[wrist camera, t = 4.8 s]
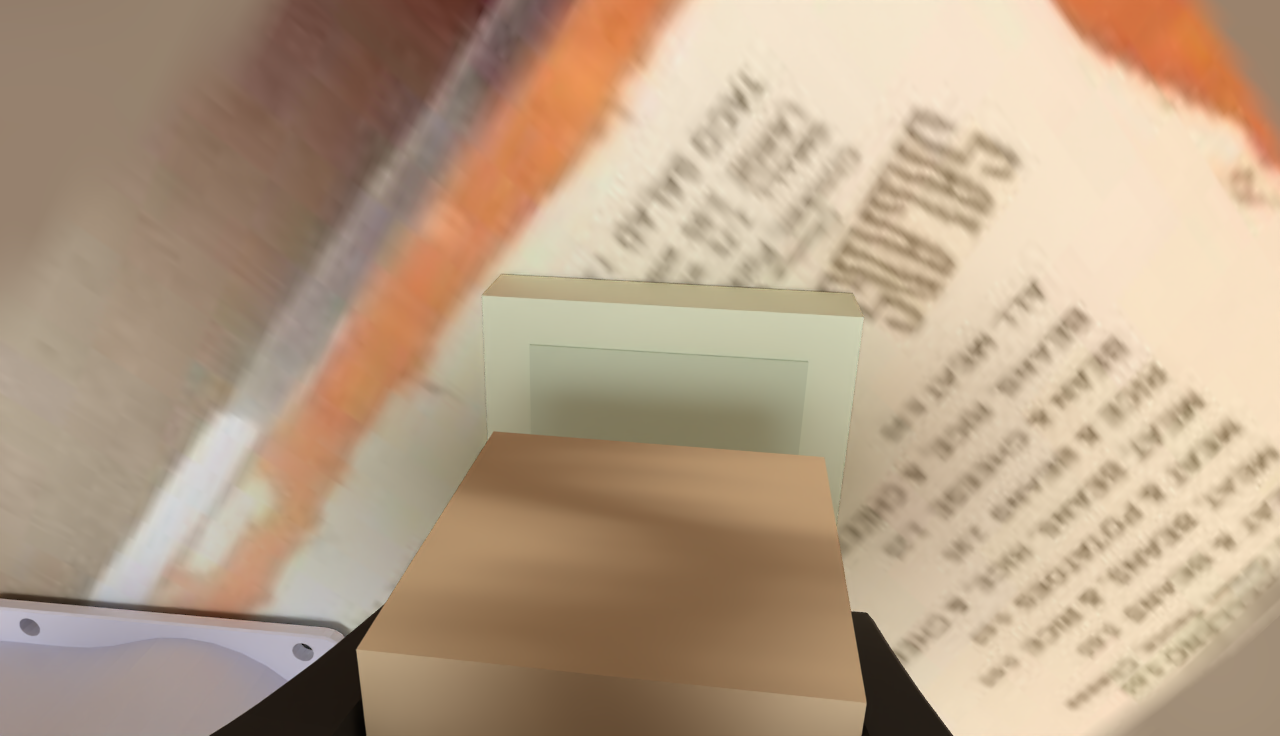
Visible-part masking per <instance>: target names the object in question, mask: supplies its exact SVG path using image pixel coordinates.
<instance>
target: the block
mask: <svg viewBox="0 0 1280 736" xmlns="http://www.w3.org/2000/svg"><path fill="white" fill-rule="evenodd" d="M356 651H357V660H358V668H359V677H360V685H361V693H362V702H363V710H364V719H365V727H366V736H862V729H863V723H864V717H865V711H866V704H867V702H866V696H865V690H864V684H863V678H862V673H861V667H860V661H859V655H858V649H857V644H856V638H855V632H854V626H853V620H852V614H851V609H850V603H849V597H848V591H847V585H846V580H845V574H844V568H843V562H842V556H841V550H840V545H839V539H838V533H837V527H836V521H835V516H834V510H833V504H832V498H831V492H830V486H829V481H828V475H827V469H826V463H825V457H817V456H804V455H791V454H778V453H765V452H752V451H740V450H727V449H714V448H701V447H688V446H675V445H662V444H649V443H637V442H624V441H611V440H598V439H585V438H572V437H559V436H546V435H533V434H521V433H508V432H495V431H493V433H492V435H491V436H490V438H489V439H488V441H487V443H486V444H485V446H484V447H483V449H482V450H481V452H480V454H479V455H478V457H477V458H476V460H475V462H474V463H473V465H472V466H471V468H470V470H469V471H468V473H467V474H466V476H465V477H464V479H463V481H462V482H461V484H460V485H459V487H458V489H457V490H456V492H455V493H454V495H453V497H452V498H451V500H450V501H449V503H448V504H447V506H446V508H445V509H444V511H443V512H442V514H441V516H440V517H439V519H438V520H437V522H436V524H435V525H434V527H433V528H432V530H431V531H430V533H429V535H428V536H427V538H426V539H425V541H424V543H423V544H422V546H421V547H420V549H419V551H418V552H417V554H416V555H415V557H414V558H413V560H412V562H411V563H410V565H409V566H408V568H407V570H406V571H405V573H404V574H403V576H402V578H401V579H400V581H399V582H398V584H397V586H396V587H395V589H394V590H393V592H392V593H391V595H390V597H389V598H388V600H387V601H386V603H385V605H384V606H383V608H382V609H381V611H380V613H379V614H378V616H377V617H376V619H375V620H374V622H373V624H372V625H371V627H370V628H369V630H368V632H367V633H366V635H365V636H364V638H363V640H362V641H361V643H360V644H359V646H358V647H357V649H356Z"/></svg>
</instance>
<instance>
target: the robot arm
mask: <svg viewBox="0 0 1280 736" xmlns="http://www.w3.org/2000/svg"><path fill="white" fill-rule="evenodd" d="M384 605H385V604H384ZM384 605H383V606H384ZM383 606H382V607H381V608H380V609H378V610H377V611H376V612H375V613H374V614H372V615H371V616H370V617H369V618H368V619H366V620H365V621H364V622H363V623H362V624H360V625H359V626H358V627H357V628H356V629H355V630H353V631H352V632H351V633H350V634H348V635H347V636H346V637H344V636H343V635H342V634H341V633H340V632H338V631H336V630H334V629H330V628H325V627H314V626H303V625H291V624H280V623H269V622H258V621H246V620H235V619H224V618H213V617H201V616H190V615H179V614H168V613H156V612H145V611H134V610H123V609H111V608H100V607H89V606H78V605H66V604H55V603H44V602H33V601H21V600H10V599H0V736H366V727H365V719H364V710H363V702H362V693H361V685H360V677H359V668H358V660H357V651H356V649H357V647H358V646H359V644H360V643H361V641H362V640H363V638H364V636H365V635H366V633H367V632H368V630H369V628H370V627H371V625H372V624H373V622H374V620H375V619H376V617H377V616H378V614H379V613H380V611H381V609H382V608H383ZM851 614H852V620H853V626H854V632H855V638H856V644H857V649H858V655H859V661H860V667H861V673H862V678H863V684H864V690H865V696H866V702H867V704H866V711H865V717H864V723H863V729H862V736H953V735H952V734H951V732H950V731H949V730H948V728H947V727H946V725H945V724H944V723H943V721H942V720H941V719H940V717H939V716H938V715H937V713H936V712H935V711H934V709H933V708H932V707H931V705H930V704H929V703H928V701H927V700H926V699H925V697H924V696H923V695H922V693H921V692H920V690H919V689H918V687H917V686H916V685H915V683H914V682H913V680H912V679H911V677H910V676H909V674H908V673H907V672H906V670H905V669H904V667H903V666H902V664H901V663H900V661H899V660H898V658H897V657H896V655H895V654H894V652H893V651H892V649H891V648H890V646H889V644H888V643H887V641H886V640H885V638H884V637H883V635H882V633H881V632H880V630H879V629H878V627H877V625H876V624H875V622H874V621H873V619H872V618H871V617H870V616H869V615H868V614H867V613H864V612H852V611H851ZM301 643H303V644H306V645H308V646H309V647H311V648H312V650H309V649H306V648H305V647H304V646H303V645H302V644H301Z"/></svg>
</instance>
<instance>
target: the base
mask: <svg viewBox="0 0 1280 736" xmlns="http://www.w3.org/2000/svg"><path fill="white" fill-rule="evenodd" d="M482 319H483V343H484V368H485V393H486V418H487V441H488V439H489V438H490V436H491V435H492V433H493V431H495V432H508V433H521V434H533V435H546V436H559V437H572V438H585V439H598V440H611V441H624V442H637V443H649V444H662V445H675V446H688V447H701V448H714V449H727V450H740V451H752V452H765V453H778V454H791V455H804V456H817V457H825V463H826V469H827V475H828V481H829V486H830V492H831V498H832V504H833V510H834V516H835V521H836V527H837V519H838V512H839V504H840V496H841V489H842V481H843V474H844V466H845V458H846V451H847V443H848V435H849V428H850V420H851V413H852V405H853V397H854V390H855V382H856V374H857V367H858V359H859V352H860V344H861V336H862V329H863V321H864V316H863V314H862V312H861V310H860V308H859V306H858V303H857V301H856V299H855V297H854V295H853V294H852V293H834V292H816V291H798V290H779V289H761V288H743V287H725V286H706V285H688V284H670V283H651V282H633V281H615V280H597V279H578V278H560V277H542V276H524V275H505V274H501V275H500V276H499V277H498V278H497V279H496V281H495V282H494V283H493V284H492V285H491V286H490V287H489V288H488V289H487V290H486V291H485V292H484V294H483V295H482Z"/></svg>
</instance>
